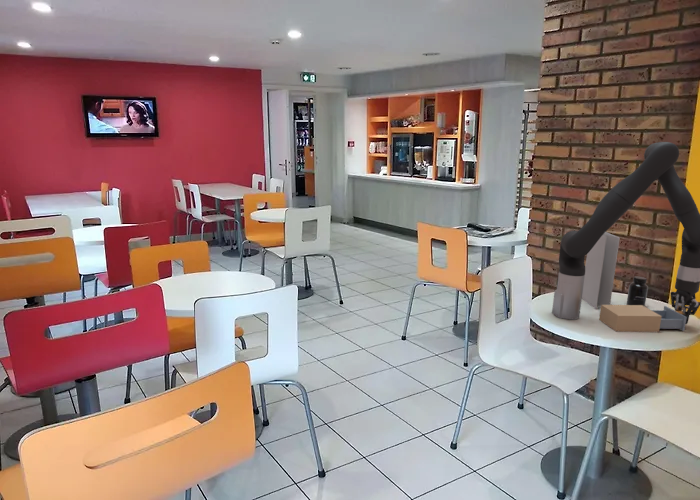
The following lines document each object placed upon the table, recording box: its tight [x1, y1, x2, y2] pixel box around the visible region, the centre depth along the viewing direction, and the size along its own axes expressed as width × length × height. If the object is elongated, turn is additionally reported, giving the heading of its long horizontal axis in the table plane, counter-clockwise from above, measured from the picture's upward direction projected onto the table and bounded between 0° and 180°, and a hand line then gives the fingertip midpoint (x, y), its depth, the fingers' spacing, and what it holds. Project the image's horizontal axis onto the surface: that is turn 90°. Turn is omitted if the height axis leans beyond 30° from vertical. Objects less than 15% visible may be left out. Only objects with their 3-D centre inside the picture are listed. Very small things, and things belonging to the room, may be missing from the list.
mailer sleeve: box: [598, 304, 662, 333], centre depth 191 cm, size 16×12×6 cm
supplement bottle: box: [626, 275, 649, 307], centre depth 215 cm, size 7×7×12 cm
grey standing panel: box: [582, 231, 621, 310], centre depth 213 cm, size 14×6×30 cm, turn 179°
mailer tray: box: [650, 305, 687, 332], centre depth 192 cm, size 20×12×5 cm, turn 92°
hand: (680, 321), depth 192 cm, fingers closed on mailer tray, 3 cm apart
